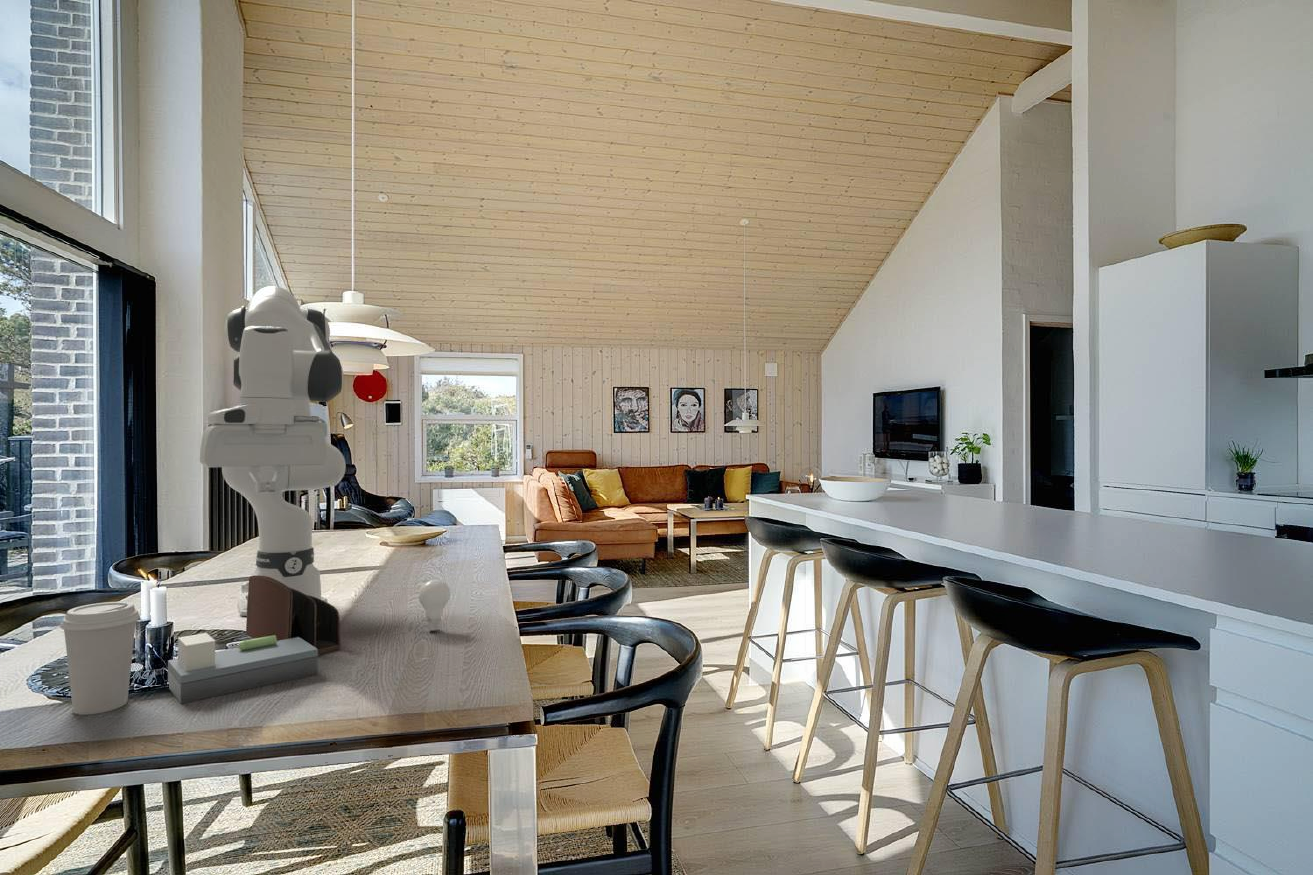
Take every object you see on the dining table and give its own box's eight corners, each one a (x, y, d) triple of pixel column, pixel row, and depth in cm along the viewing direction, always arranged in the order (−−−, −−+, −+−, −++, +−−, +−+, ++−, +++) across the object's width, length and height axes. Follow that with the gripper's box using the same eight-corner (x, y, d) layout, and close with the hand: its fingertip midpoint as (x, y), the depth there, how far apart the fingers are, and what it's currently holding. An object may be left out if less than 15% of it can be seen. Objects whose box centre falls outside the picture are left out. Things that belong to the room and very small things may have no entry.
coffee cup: (74, 724, 100) (75, 619, 100) (48, 709, 105) (49, 609, 105) (151, 702, 108) (151, 605, 108) (123, 690, 114) (123, 597, 113)
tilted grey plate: (167, 667, 115) (168, 636, 115) (298, 643, 129) (298, 615, 129) (180, 683, 108) (180, 649, 108) (317, 656, 122) (318, 626, 122)
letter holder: (287, 663, 128) (287, 585, 128) (245, 641, 141) (245, 571, 141) (341, 650, 136) (341, 577, 136) (296, 631, 149) (297, 564, 149)
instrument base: (167, 686, 115) (167, 668, 115) (298, 660, 129) (298, 643, 129) (180, 703, 108) (180, 684, 108) (317, 673, 122) (317, 656, 122)
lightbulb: (411, 633, 147) (412, 581, 147) (432, 626, 153) (432, 575, 153) (436, 637, 145) (436, 583, 145) (456, 629, 151) (456, 577, 150)
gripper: (321, 416, 137) (320, 487, 137) (197, 413, 122) (197, 493, 122) (333, 416, 132) (332, 489, 132) (206, 413, 118) (205, 495, 118)
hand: (266, 491), depth 127 cm, fingers closed
